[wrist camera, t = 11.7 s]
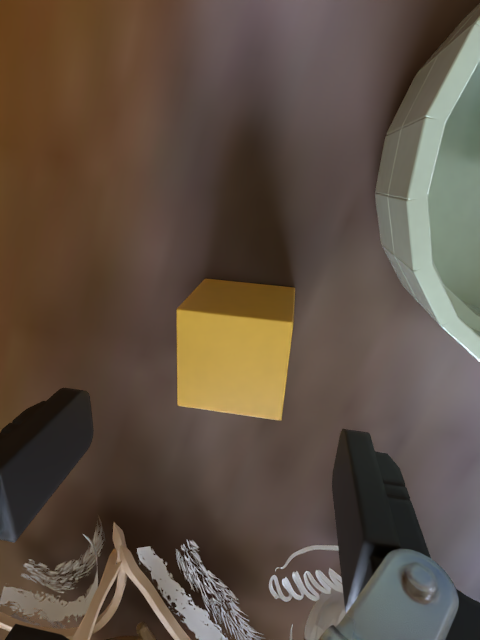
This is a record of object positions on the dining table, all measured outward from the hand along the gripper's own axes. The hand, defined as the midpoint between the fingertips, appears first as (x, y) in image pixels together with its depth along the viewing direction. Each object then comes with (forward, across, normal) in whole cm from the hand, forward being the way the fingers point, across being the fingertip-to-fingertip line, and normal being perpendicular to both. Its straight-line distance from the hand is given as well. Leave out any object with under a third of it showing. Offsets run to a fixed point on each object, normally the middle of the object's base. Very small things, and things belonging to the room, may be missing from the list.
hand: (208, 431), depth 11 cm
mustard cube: (+8, 0, 0) cm, 8 cm away
